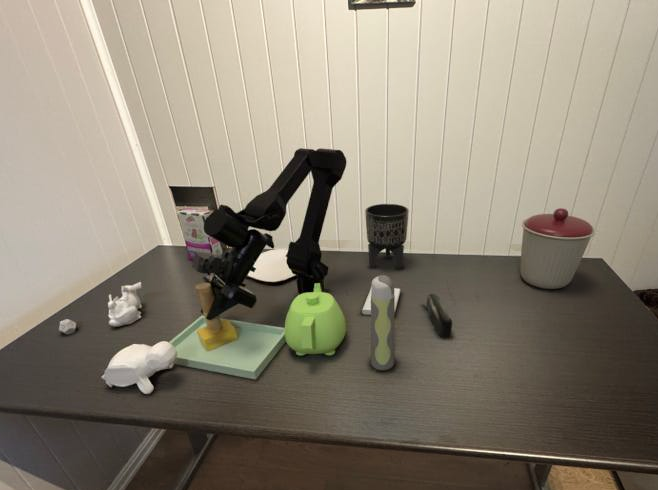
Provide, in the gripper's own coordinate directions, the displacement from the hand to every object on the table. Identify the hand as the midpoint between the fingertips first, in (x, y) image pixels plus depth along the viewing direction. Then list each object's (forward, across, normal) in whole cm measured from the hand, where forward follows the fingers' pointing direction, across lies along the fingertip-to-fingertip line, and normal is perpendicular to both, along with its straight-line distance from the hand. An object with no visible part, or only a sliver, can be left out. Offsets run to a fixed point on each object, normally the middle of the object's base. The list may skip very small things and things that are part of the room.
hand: (205, 316), depth 81 cm
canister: (-54, +33, +65) cm, 91 cm away
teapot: (-7, +15, +18) cm, 25 cm away
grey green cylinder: (-12, +30, +23) cm, 40 cm away
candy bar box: (-6, -50, +17) cm, 54 cm away
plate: (-16, -28, +27) cm, 42 cm away
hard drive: (-23, +12, +34) cm, 43 cm away
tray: (+4, +3, +7) cm, 8 cm away
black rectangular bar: (-26, +27, +38) cm, 53 cm away
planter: (-36, -6, +47) cm, 59 cm away
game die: (+23, -28, -12) cm, 38 cm away
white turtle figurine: (+16, +3, -5) cm, 17 cm away
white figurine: (+13, -25, -2) cm, 29 cm away
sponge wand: (+4, 0, +6) cm, 7 cm away
